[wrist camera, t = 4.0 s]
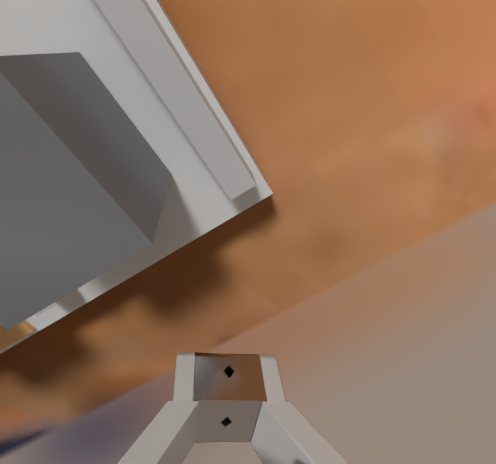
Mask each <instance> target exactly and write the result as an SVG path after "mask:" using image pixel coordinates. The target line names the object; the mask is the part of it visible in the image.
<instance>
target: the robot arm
mask: <svg viewBox="0 0 496 464" xmlns="http://www.w3.org/2000/svg"><path fill="white" fill-rule="evenodd" d="M198 442H199V443H200V442H251V445H252V447H253V448H254V450H255V452H256V453H257V455H258V456H259V458H260V460H261V461H262V463H263V464H347V463H346V462H345V461H344V459H343V458H341V456H340V455H339V454H338V453H337V452H336V451H335V450H334V449H333V448H332V446H331V445H330V444H329V443H328V442H327V441H326V440H325V439H324V438H323V437H322V436H321V435H320V433H319V432H318V431H317V430H316V429H315V428H314V427H313V426H312V425H311V424H310V423H309V421H308V420H307V419H306V418H305V417H304V416H303V415H302V414H301V413H300V412H299V410H298V409H296V407H295V406H294V405H293V404H292V403H291V402H286V400H285V396H284V391H283V387H282V382H281V378H280V374H279V369H278V365H277V361H276V357H275V356H274V355H256V354H214V353H198V352H195V353H194V352H178V354H177V362H176V373H175V382H174V392H173V401H167V402H166V404H165V405H164V406H163V407H162V409H161V410H160V411H159V412H158V414H157V415H156V416H155V418H154V419H153V420H152V421H151V422H150V424H149V425H148V426H147V427H146V429H145V430H144V431H143V432H142V434H141V435H140V436H139V437H138V438H137V440H136V441H135V442H134V443H133V445H132V446H131V447H130V448H129V450H128V451H127V452H126V453H125V455H124V456H123V457H122V458H121V460H120V461H119V462H118V463H117V464H182V462H183V461H184V459H185V457H186V455H187V454H188V452H189V450H190V449H191V447H192V445H193V443H198Z"/></svg>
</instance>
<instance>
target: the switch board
mask: <svg viewBox="0 0 496 464" xmlns="http://www.w3.org/2000/svg"><path fill="white" fill-rule="evenodd" d="M69 52H80V53H81V55H82V56H83V57H84V59H85V60H86V61H87V63H88V64H89V65H90V67H91V68H92V69H93V71H94V72H95V73H96V75H97V76H98V77H99V79H100V80H101V81H102V83H103V84H104V85H105V87H106V88H107V89H108V90H109V92H110V93H111V94H112V96H113V97H114V98H115V100H116V101H117V102H118V104H119V105H120V106H121V108H122V109H123V110H124V112H125V113H126V114H127V116H128V117H129V118H130V120H131V121H132V122H133V124H134V125H135V126H136V128H137V129H138V130H139V132H140V133H141V134H142V136H143V137H144V138H145V140H146V141H147V142H148V144H149V145H150V146H151V148H152V149H153V150H154V152H155V153H156V154H157V156H158V157H159V158H160V160H161V161H162V162H163V164H164V165H165V166H166V167H167V169H168V170H169V171H170V173H171V176H170V179H169V183H168V187H167V191H166V195H165V198H164V202H163V206H162V210H161V214H160V217H159V221H158V225H157V229H156V233H155V236H154V240H153V244H151V245H149V246H148V247H146V248H144V249H143V250H141V251H139V252H138V253H136V254H134V255H133V256H131V257H129V258H128V259H126V260H124V261H123V262H121V263H119V264H118V265H116V266H114V267H113V268H111V269H109V270H108V271H106V272H104V273H103V274H101V275H99V276H98V277H96V278H94V279H93V280H91V281H89V282H88V283H86V284H84V285H83V286H81V287H79V288H78V289H76V290H74V291H73V292H71V293H69V294H68V295H66V296H64V297H63V298H61V299H59V300H58V301H56V302H54V303H53V304H51V305H49V306H48V307H46V308H44V309H43V310H41V311H39V312H38V313H36V314H34V315H33V316H31V317H29V318H28V319H26V320H24V321H23V322H21V323H19V324H18V325H16V326H14V327H13V328H11V329H9V330H8V329H6V328H5V327H4V326H2V325H1V324H0V354H1V353H3V352H4V351H6V350H8V349H9V348H11V347H13V346H14V345H16V344H18V343H20V342H21V341H23V340H25V339H26V338H28V337H30V336H31V335H33V334H35V333H37V332H38V331H40V330H42V329H43V328H45V327H47V326H49V325H50V324H52V323H54V322H55V321H57V320H59V319H60V318H62V317H64V316H66V315H67V314H69V313H71V312H72V311H74V310H76V309H77V308H79V307H81V306H83V305H84V304H86V303H88V302H89V301H91V300H93V299H94V298H96V297H98V296H100V295H101V294H103V293H105V292H106V291H108V290H110V289H111V288H113V287H115V286H117V285H118V284H120V283H122V282H123V281H125V280H127V279H128V278H130V277H132V276H134V275H135V274H137V273H139V272H140V271H142V270H144V269H146V268H147V267H149V266H151V265H152V264H154V263H156V262H157V261H159V260H161V259H163V258H164V257H166V256H168V255H169V254H171V253H173V252H174V251H176V250H178V249H180V248H181V247H183V246H185V245H186V244H188V243H190V242H191V241H193V240H195V239H197V238H198V237H200V236H202V235H203V234H205V233H207V232H208V231H210V230H212V229H214V228H215V227H217V226H219V225H220V224H222V223H224V222H225V221H227V220H229V219H231V218H232V217H234V216H236V215H237V214H239V213H241V212H243V211H244V210H246V209H248V208H249V207H251V206H253V205H254V204H256V203H258V202H260V201H261V200H263V199H265V198H266V197H268V196H270V195H271V194H273V193H272V190H271V188H270V186H269V184H268V182H267V180H266V177H265V176H264V174H263V172H262V171H261V169H260V167H259V166H258V164H257V162H256V161H255V159H254V157H253V156H252V154H251V152H250V151H249V149H248V147H247V146H246V144H245V142H244V141H243V139H242V137H241V136H240V134H239V132H238V131H237V129H236V127H235V126H234V124H233V122H232V121H231V119H230V117H229V116H228V114H227V112H226V111H225V109H224V107H223V106H222V104H221V102H220V101H219V99H218V97H217V96H216V94H215V92H214V91H213V89H212V87H211V86H210V84H209V82H208V81H207V79H206V77H205V76H204V74H203V72H202V71H201V69H200V67H199V66H198V64H197V62H196V61H195V59H194V57H193V56H192V54H191V52H190V51H189V49H188V47H187V46H186V44H185V42H184V41H183V39H182V37H181V36H180V34H179V32H178V31H177V29H176V27H175V26H174V24H173V22H172V21H171V19H170V17H169V16H168V14H167V12H166V11H165V9H164V7H163V6H162V4H161V2H160V1H159V0H0V56H7V55H28V54H48V53H69Z"/></svg>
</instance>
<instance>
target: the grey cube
mask: <svg viewBox="0 0 496 464" xmlns="http://www.w3.org/2000/svg"><path fill="white" fill-rule="evenodd" d="M170 176H171V173H170V171H169V170H168V169H167V167H166V166H165V165H164V164H163V162H162V161H161V160H160V158H159V157H158V156H157V154H156V153H155V152H154V150H153V149H152V148H151V146H150V145H149V144H148V142H147V141H146V140H145V138H144V137H143V136H142V134H141V133H140V132H139V130H138V129H137V128H136V126H135V125H134V124H133V122H132V121H131V120H130V118H129V117H128V116H127V114H126V113H125V112H124V110H123V109H122V108H121V106H120V105H119V104H118V102H117V101H116V100H115V98H114V97H113V96H112V94H111V93H110V92H109V90H108V89H107V88H106V87H105V85H104V84H103V83H102V81H101V80H100V79H99V77H98V76H97V75H96V73H95V72H94V71H93V69H92V68H91V67H90V65H89V64H88V63H87V61H86V60H85V59H84V57H83V56H82V55H81V53H80V52H69V53H48V54H28V55H7V56H0V324H1V325H2V326H4V327H5V328H6V329H8V330H9V329H11V328H13V327H14V326H16V325H18V324H19V323H21V322H23V321H24V320H26V319H28V318H29V317H31V316H33V315H34V314H36V313H38V312H39V311H41V310H43V309H44V308H46V307H48V306H49V305H51V304H53V303H54V302H56V301H58V300H59V299H61V298H63V297H64V296H66V295H68V294H69V293H71V292H73V291H74V290H76V289H78V288H79V287H81V286H83V285H84V284H86V283H88V282H89V281H91V280H93V279H94V278H96V277H98V276H99V275H101V274H103V273H104V272H106V271H108V270H109V269H111V268H113V267H114V266H116V265H118V264H119V263H121V262H123V261H124V260H126V259H128V258H129V257H131V256H133V255H134V254H136V253H138V252H139V251H141V250H143V249H144V248H146V247H148V246H149V245H151V244H153V240H154V236H155V233H156V229H157V225H158V221H159V217H160V214H161V210H162V206H163V202H164V198H165V195H166V191H167V187H168V183H169V179H170Z"/></svg>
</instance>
